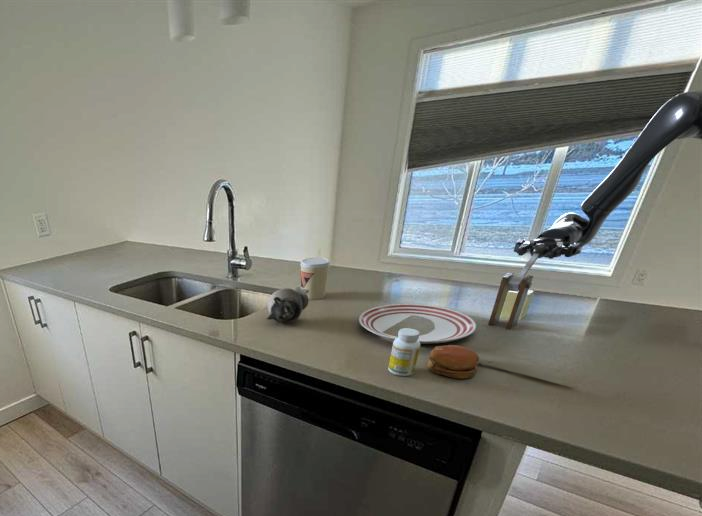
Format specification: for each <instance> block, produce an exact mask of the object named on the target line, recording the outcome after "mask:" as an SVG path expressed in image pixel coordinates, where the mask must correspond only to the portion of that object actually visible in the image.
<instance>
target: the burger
mask: <svg viewBox="0 0 702 516" xmlns="http://www.w3.org/2000/svg"><path fill="white" fill-rule="evenodd" d="M479 362H480V356H479V355H478V352H476V351H475V350H473V349H470V348H467V347H464V346H461V345H455V344H448V345H438V346H437V345H436V346H434V347H433V348H432V350H431V351H430V353H429V358H428V362H427V364H426V367H427V369H428V370H429V371H430V372H432V373H434V374H437V375H443V376H446V377H448V378H455V379H469V378H472V377H473V376H475V374H476V373H477V366H478V363H479Z"/></svg>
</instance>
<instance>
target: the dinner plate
mask: <svg viewBox="0 0 702 516" xmlns="http://www.w3.org/2000/svg"><path fill="white" fill-rule="evenodd" d="M411 316H414V317H415V316H416V317H420V318H424V319H427V320H429V321H430V322H432V323H433V325H434V329H433V330H431V331H430V332H428V333H425V334H420V335H419V338H418V341H419V342H420V345H433V344H442V343H450V342H454V341H455V342H456V341H458V340H461V339H464V338H467V337H469V336H470V335H472V334H473V333H475V331H476V329H477V323H476V322H475V320H473V318H472V317H470V316H468V315H466V314H465V313H463V312H461V311H458V310H455V309H451V308H448V307H442V306H436V305H429V304H421V303H395V304H385V305H379V306H376V307H373V308H370V309H367V310H365V311H363V313H361V314H360V315H359V317H358V322H359V324H360V326H361V327H362V328H364V329H365V330H367V331H369V332H371V333H372V334H374V335H376V336H379V337H382V338H384V339H388V340H391V341H394V340H395V339H396V338H398V335H391V334H388V333H386V332H385V331H386V330H389V329H390V328H392V327H394V326H395V325H397V324H399V323H400V322H403V321H404V320H406V319H407V318H409V317H411Z"/></svg>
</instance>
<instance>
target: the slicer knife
mask: <svg viewBox="0 0 702 516" xmlns="http://www.w3.org/2000/svg"><path fill="white" fill-rule="evenodd" d="M548 251H549V248H548V246H547V245H546V244H537V245H535V246H533V247H532V249H531V251H530V256H531V257H530V258H529V260H528V261H527V263H526V264H525V265H524V266H523V268H521V271H520V272H519V273H518V274H517V275H513V277H512V279H511V280H510V281H509V283H508V289H507V290H508V291H516V292H518V291H519V288H520V285H521V282H522V279H524V278H525V277H526V275H527V274H528V272H529V271H530V270H531V268H532V267H533V266H534V264H535V263H536V262H537V260H538V259H542V258H545V257H544V256H546V255H547V253H548Z"/></svg>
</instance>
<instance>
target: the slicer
mask: <svg viewBox="0 0 702 516" xmlns="http://www.w3.org/2000/svg"><path fill="white" fill-rule="evenodd" d="M513 276H515V273H513V272H508V273H506V274H505V275H503V276H502V278H501V280H500V283H499V288H498V291H497V294H496V297H495V301H494V304H493V308H492V310H491V314H490V317H489V320H488V324H487V326H491V327H493V326H494V325H496V324H497V323H498V322H499V321H500V318H501V317H500V316H501V313H502V310H503V307H504V304H505V300H506V297H507V294H508V292H509V290H507V289H508V283H509V281H510V280H511V279H512V277H513ZM533 279H534V275H531V274H530V275H527V276H525V277H524V279H522V282H521V285H520V288H519V291H518V294H517V297H516V300H515V303H514V306H513V309H512V312H511V315H510V318H508V321H507V324H506V327H505V330H509V331H511V330H513V328H515V327H516V326H517V325H518V322H519V320H518V319H519V316H520V314H521V311H522V308H523V305H524V302H525V299H526V296H527V293H528V290H530V289H531V288H532V285H533V283H532V281H533Z"/></svg>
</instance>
